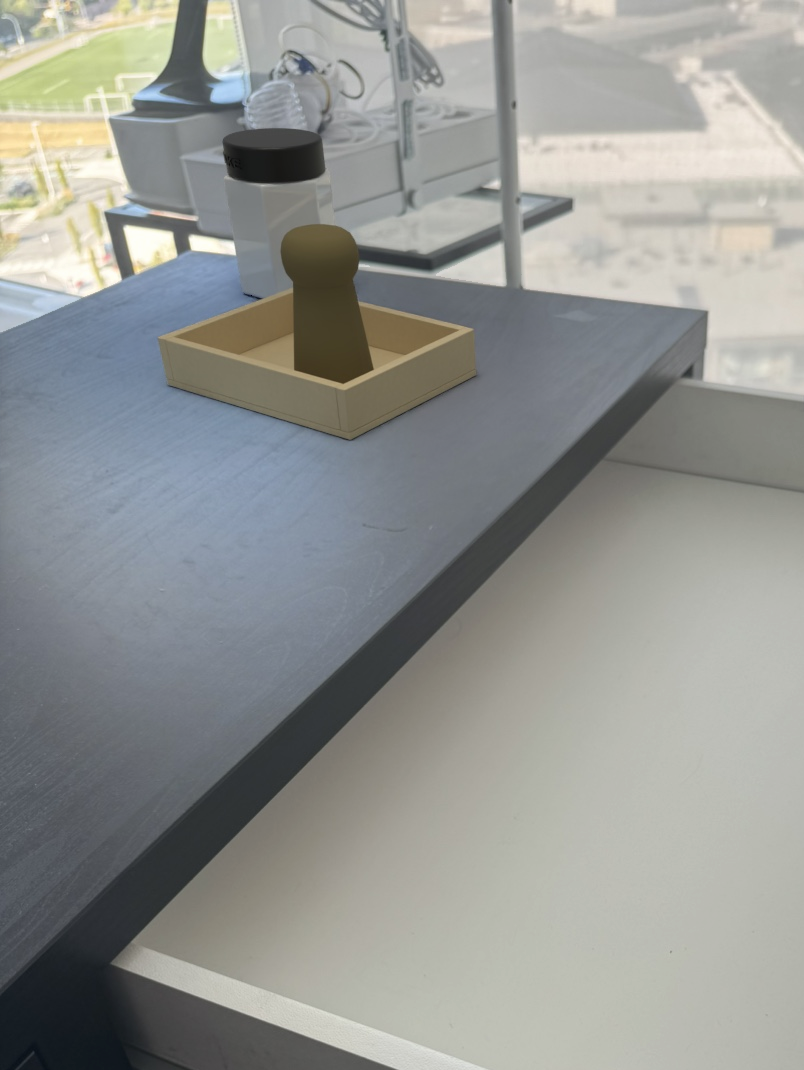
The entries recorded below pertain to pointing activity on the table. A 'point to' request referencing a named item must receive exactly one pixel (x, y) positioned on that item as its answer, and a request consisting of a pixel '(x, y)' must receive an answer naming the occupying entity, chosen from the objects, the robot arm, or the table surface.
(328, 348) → the cork
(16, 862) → the table surface
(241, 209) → the jar
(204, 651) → the table surface
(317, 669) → the table surface
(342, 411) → the tray
